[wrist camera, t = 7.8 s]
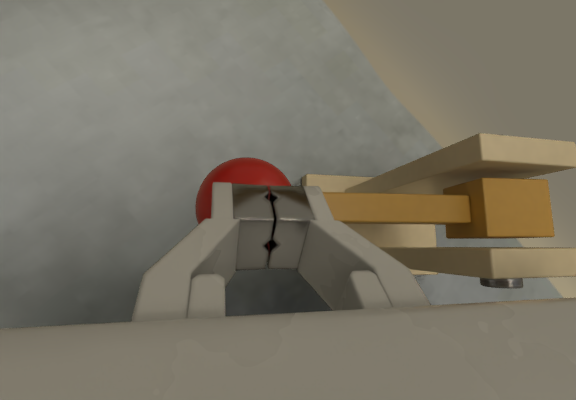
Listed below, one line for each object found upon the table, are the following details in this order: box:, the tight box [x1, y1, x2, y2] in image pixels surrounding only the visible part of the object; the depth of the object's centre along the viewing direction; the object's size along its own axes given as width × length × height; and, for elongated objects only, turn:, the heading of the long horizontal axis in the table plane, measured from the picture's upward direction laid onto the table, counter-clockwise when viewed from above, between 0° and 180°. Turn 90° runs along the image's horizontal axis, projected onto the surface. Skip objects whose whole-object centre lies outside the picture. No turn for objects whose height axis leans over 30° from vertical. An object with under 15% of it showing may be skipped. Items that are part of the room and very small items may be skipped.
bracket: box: [302, 133, 576, 288], centre depth 17 cm, size 10×7×13 cm
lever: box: [196, 158, 554, 238], centre depth 12 cm, size 13×4×4 cm, turn 90°
